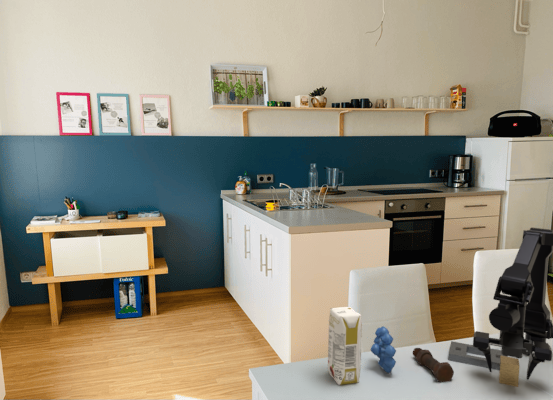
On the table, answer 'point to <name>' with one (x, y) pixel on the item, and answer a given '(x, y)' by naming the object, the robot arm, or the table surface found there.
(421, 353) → the bolt
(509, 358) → the wooden block
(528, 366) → the robot arm
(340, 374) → the juice carton
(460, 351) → the grey slotted plate
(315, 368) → the table surface
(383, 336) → the grapes
